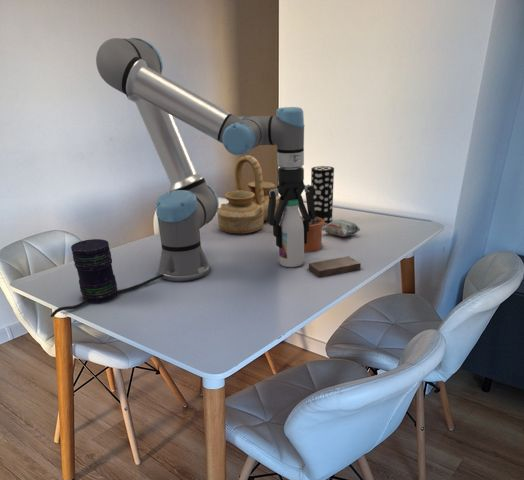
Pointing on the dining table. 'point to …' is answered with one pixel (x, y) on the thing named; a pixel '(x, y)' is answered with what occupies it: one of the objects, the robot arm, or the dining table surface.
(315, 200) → the white-spotted black cylinder
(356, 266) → the walnut board
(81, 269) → the storage jar
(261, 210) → the ceramic vessel
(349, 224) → the packaged food
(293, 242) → the milk bottle
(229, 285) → the dining table surface
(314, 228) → the flower pot
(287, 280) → the dining table surface
